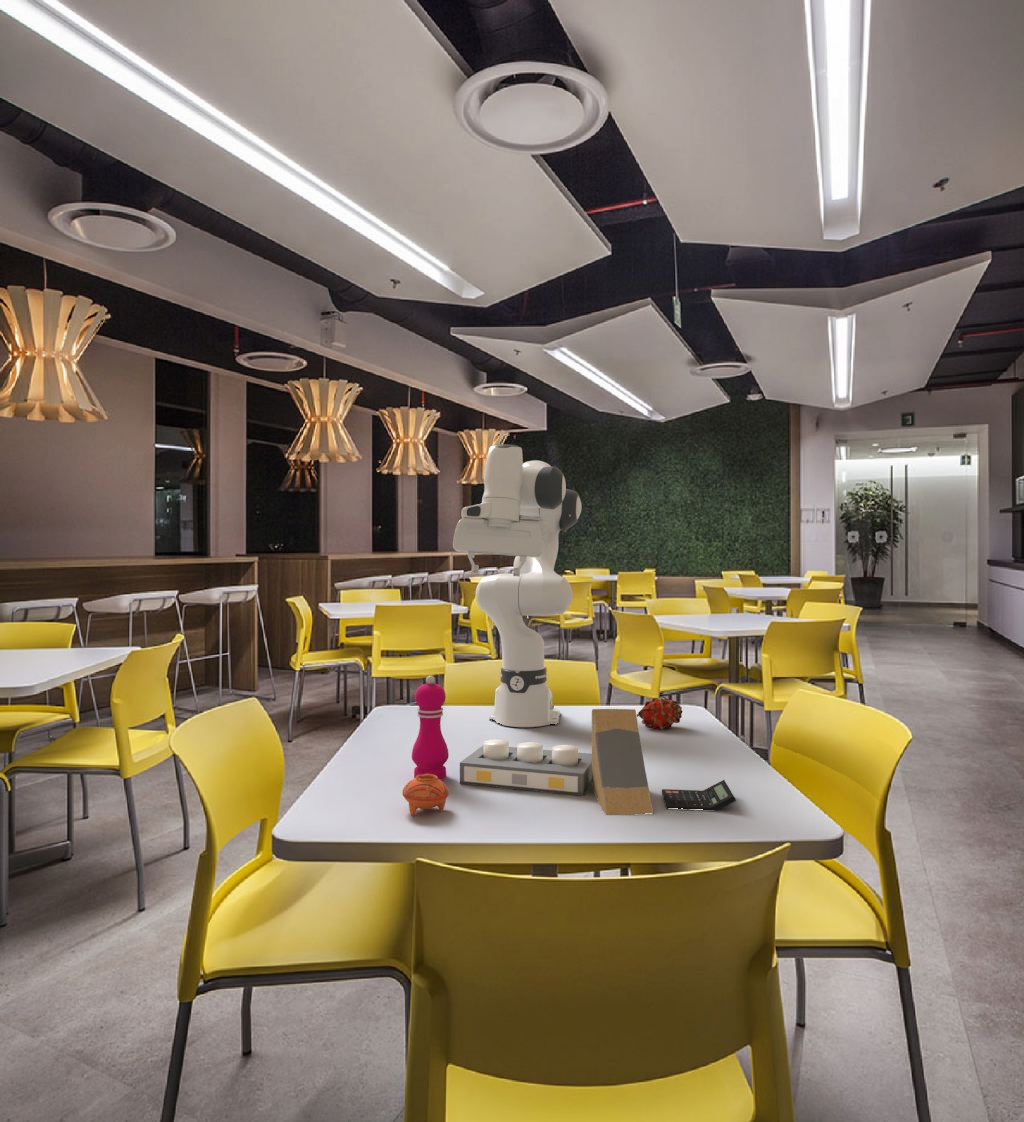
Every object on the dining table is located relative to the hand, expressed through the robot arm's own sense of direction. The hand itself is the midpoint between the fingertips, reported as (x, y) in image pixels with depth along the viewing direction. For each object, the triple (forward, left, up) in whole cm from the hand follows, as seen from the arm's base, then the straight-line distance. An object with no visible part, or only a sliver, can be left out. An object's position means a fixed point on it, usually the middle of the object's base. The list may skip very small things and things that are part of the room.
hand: (495, 574), depth 164 cm
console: (+18, +13, -39) cm, 45 cm away
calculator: (+22, +45, -40) cm, 64 cm away
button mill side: (+18, +6, -37) cm, 42 cm away
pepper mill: (+23, -6, -40) cm, 46 cm away
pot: (+41, +1, -40) cm, 57 cm away
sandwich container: (+25, +32, -40) cm, 57 cm away
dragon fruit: (-33, +33, -40) cm, 61 cm away
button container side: (+18, +20, -37) cm, 46 cm away
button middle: (+18, +13, -37) cm, 43 cm away
